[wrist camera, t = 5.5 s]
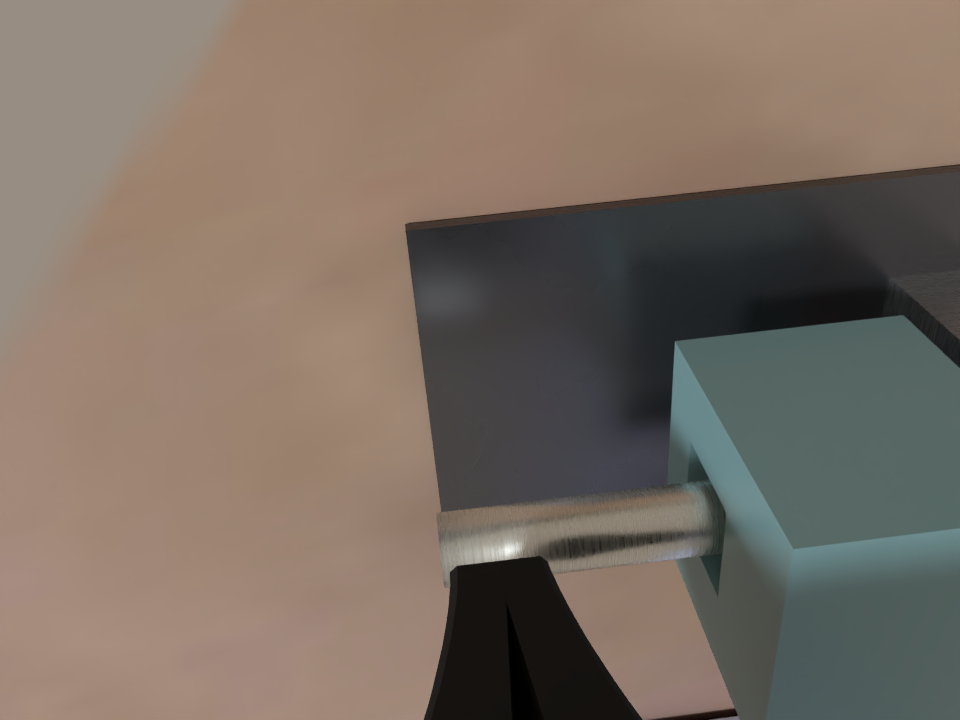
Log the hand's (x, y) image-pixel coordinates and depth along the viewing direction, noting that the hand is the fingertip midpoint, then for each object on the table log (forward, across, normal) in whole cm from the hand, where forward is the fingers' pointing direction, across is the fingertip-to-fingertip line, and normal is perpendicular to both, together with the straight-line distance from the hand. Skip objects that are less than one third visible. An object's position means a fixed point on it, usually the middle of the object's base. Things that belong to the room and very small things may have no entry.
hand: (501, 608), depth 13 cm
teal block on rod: (+3, -5, 0) cm, 6 cm away
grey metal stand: (+5, -5, 0) cm, 7 cm away
